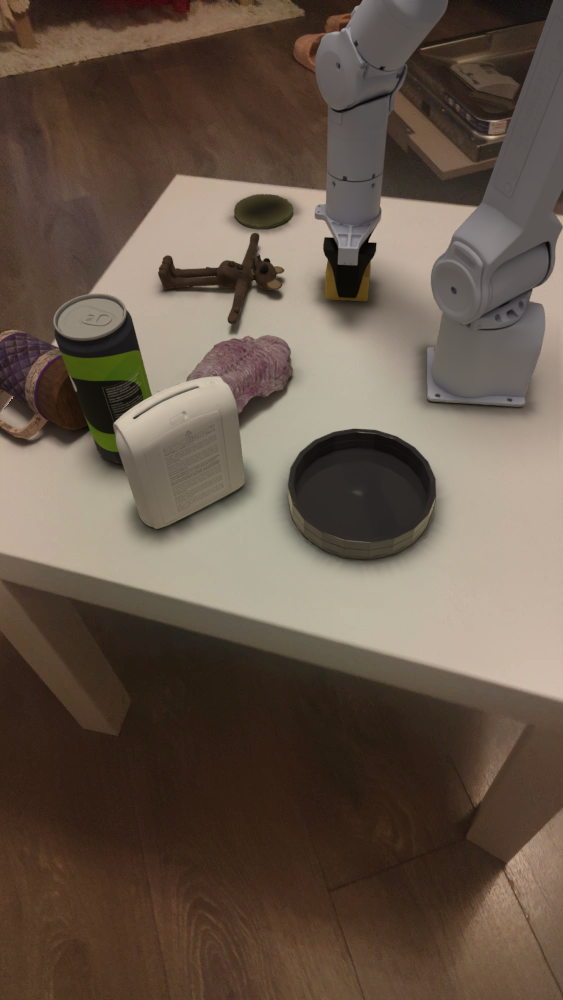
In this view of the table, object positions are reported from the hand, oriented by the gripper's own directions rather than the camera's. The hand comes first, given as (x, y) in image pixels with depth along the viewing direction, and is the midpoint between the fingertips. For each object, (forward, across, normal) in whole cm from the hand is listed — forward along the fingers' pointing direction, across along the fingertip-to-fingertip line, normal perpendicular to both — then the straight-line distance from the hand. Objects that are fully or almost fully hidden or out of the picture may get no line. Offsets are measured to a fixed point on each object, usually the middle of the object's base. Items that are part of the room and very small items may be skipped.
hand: (348, 285), depth 77 cm
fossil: (+1, +18, -10) cm, 21 cm away
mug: (-2, +26, -24) cm, 35 cm away
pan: (+1, +31, +3) cm, 31 cm away
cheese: (+1, 0, 0) cm, 1 cm away
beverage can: (+1, +26, -19) cm, 33 cm away
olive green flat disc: (0, -17, -12) cm, 21 cm away
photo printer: (+1, +32, -12) cm, 34 cm away
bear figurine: (+1, 0, -15) cm, 15 cm away
